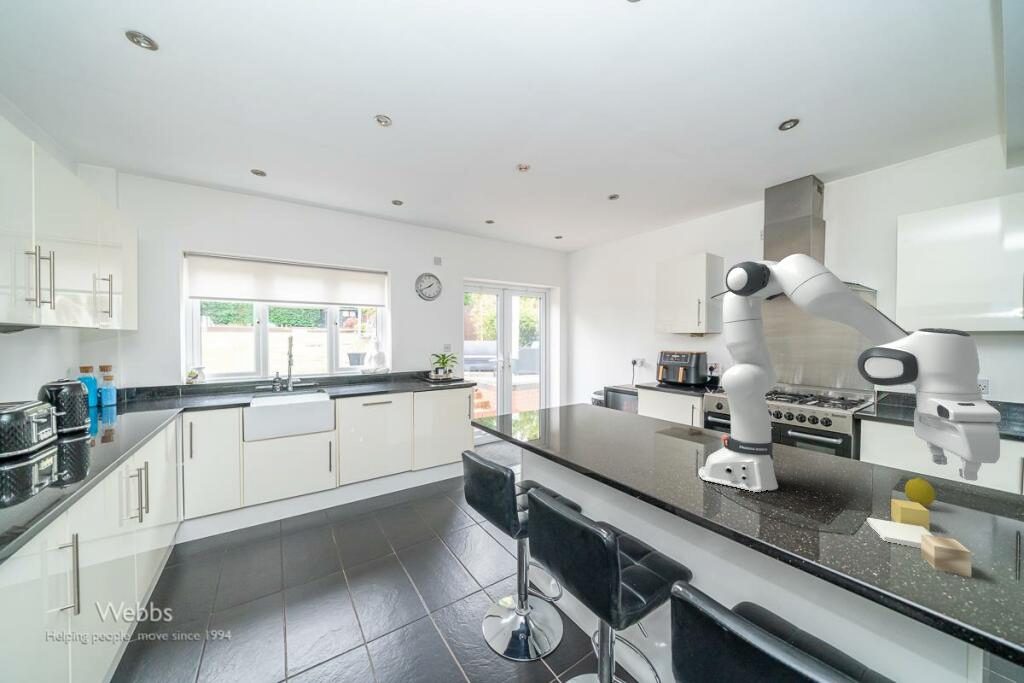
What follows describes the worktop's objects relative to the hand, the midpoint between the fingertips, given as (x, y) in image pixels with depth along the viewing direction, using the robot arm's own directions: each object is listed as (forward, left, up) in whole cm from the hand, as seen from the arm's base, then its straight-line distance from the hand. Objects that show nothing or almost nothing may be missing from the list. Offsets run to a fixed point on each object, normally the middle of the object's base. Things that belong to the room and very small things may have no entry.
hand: (953, 471), depth 75 cm
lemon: (+6, +31, -19) cm, 37 cm away
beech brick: (-3, -3, -19) cm, 19 cm away
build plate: (-5, +8, -19) cm, 21 cm away
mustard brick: (-1, +17, -19) cm, 25 cm away
